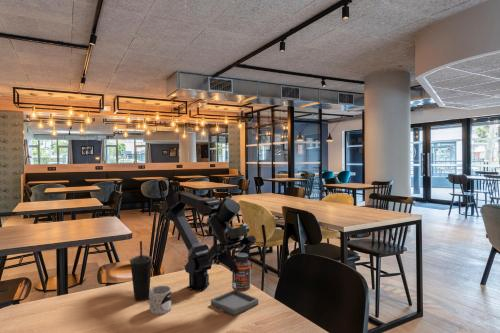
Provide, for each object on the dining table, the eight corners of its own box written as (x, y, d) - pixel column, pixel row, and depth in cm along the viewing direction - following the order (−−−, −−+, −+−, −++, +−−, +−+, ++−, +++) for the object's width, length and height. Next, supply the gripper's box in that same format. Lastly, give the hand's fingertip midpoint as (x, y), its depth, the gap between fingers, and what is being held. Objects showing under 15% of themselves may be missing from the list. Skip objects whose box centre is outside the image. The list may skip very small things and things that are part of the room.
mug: (165, 316, 99) (165, 295, 99) (145, 314, 100) (145, 293, 100) (178, 301, 109) (178, 282, 108) (160, 299, 110) (160, 280, 110)
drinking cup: (156, 293, 115) (155, 238, 114) (147, 303, 107) (146, 244, 106) (136, 292, 116) (135, 238, 115) (126, 302, 108) (125, 244, 107)
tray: (210, 304, 106) (210, 299, 106) (235, 294, 114) (235, 289, 114) (234, 316, 98) (234, 311, 98) (258, 304, 106) (258, 298, 106)
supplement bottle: (234, 293, 100) (234, 258, 100) (230, 285, 106) (230, 252, 105) (252, 291, 102) (253, 257, 101) (247, 283, 108) (248, 251, 107)
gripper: (212, 220, 98) (236, 264, 92) (253, 212, 112) (276, 250, 105) (196, 240, 104) (218, 283, 97) (237, 230, 118) (258, 267, 111)
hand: (244, 269), depth 103 cm, fingers closed on supplement bottle, 6 cm apart
